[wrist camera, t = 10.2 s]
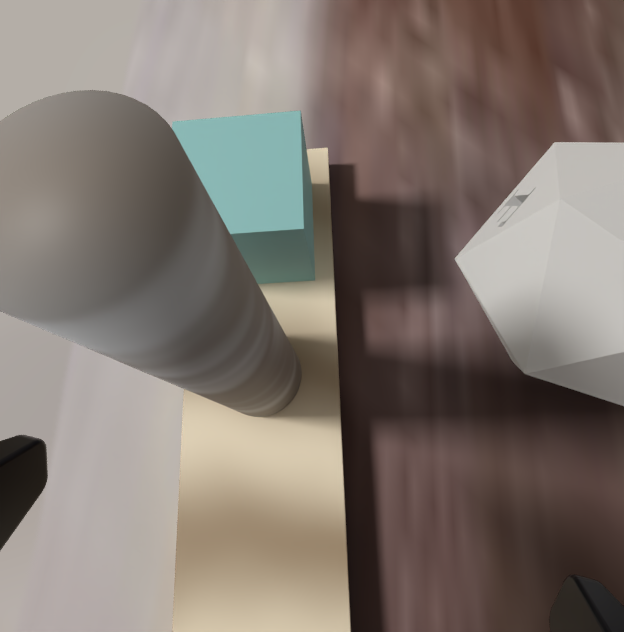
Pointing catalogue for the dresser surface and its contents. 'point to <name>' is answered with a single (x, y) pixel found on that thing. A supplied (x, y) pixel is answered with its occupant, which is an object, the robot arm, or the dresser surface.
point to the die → (559, 269)
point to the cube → (258, 188)
